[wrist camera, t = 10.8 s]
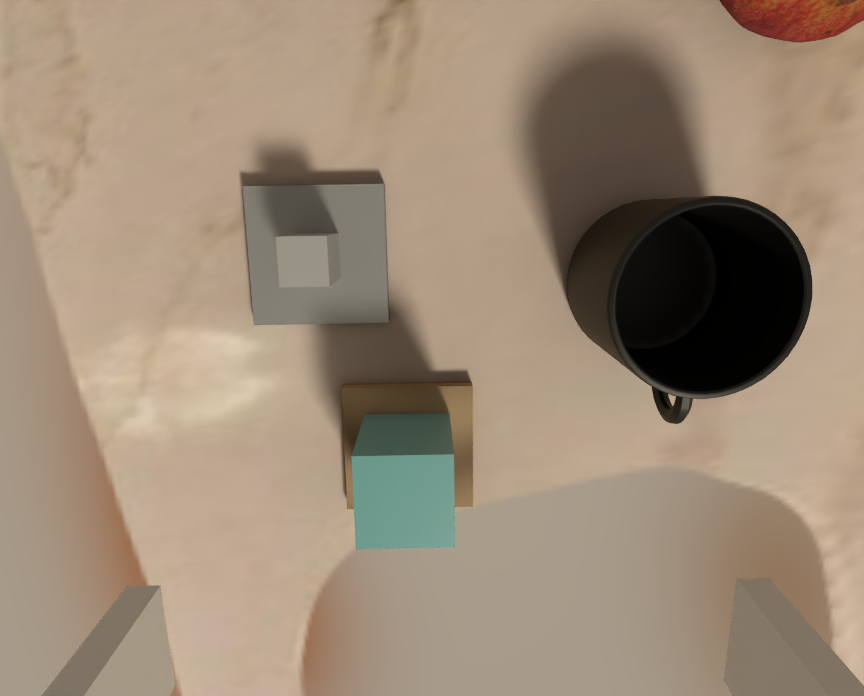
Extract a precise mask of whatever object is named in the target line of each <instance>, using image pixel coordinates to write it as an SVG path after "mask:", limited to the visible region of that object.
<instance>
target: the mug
mask: <svg viewBox="0 0 864 696" xmlns="http://www.w3.org/2000/svg"><path fill="white" fill-rule="evenodd" d="M567 292H568V299H569V304H570V308H571V311H572V313H573V315H574V318H575V320H576V321H577V323H578V325H579V326H580V328H581V329H582V331H583V332H584V333H585V334H586V335H587V336H588V337H589V338H590V339H591V340H592V341H593V342H595V343H596V344H597V345H598V346H600V347H601V348H602V349H603V350H605V351H606V352H607V353H608V354H610V355H611V356H612V357H613V358H615V359H616V360H617V361H619V362H620V363H621V364H622V365H624V366H625V367H626V368H627V369H629V370H630V371H631V372H633V373H634V374H635V375H636V376H638V377H639V378H640V379H641V380H643V381H644V382H645V383H647V384H649V385H650V386H652V391H653V397H654V400H655V403H656V406H657V408H658V411H659V413H660V415H661V416H662V418H663V419H664V420H665V421H666V422H669V423H674V424H679V423H681V422H682V421H683V420H684V419H685V418H686V416H687V415H688V413H689V411H690V409H691V406H692V400H693V399H708V398H716V397H722V396H726V395H729V394H733V393H736V392H739V391H741V390H743V389H746V388H748V387H750V386H752V385H754V384H755V383H757V382H759V381H760V380H762V379H764V378H765V377H766V376H767V375H769V374H770V373H771V372H772V371H774V370H775V369H776V368H777V367H778V366H779V365H780V364H781V363H782V362H783V361H784V360H785V359H786V357H787V356H788V355H789V354H790V352H791V351H792V349H793V348H794V346H795V345H796V343H797V342H798V340H799V338H800V336H801V334H802V332H803V330H804V328H805V325H806V322H807V319H808V316H809V312H810V307H811V301H812V276H811V270H810V265H809V262H808V258H807V255H806V253H805V250H804V248H803V246H802V244H801V243H800V241H799V239H798V237H797V236H796V235H795V233H794V232H793V231H792V229H791V228H790V227H789V226H788V225H787V224H786V223H785V222H784V221H783V220H782V219H781V218H780V217H778V216H777V215H776V214H775V213H773V212H771V211H770V210H768V209H767V208H765V207H763V206H761V205H759V204H756V203H754V202H751V201H749V200H745V199H740V198H735V197H728V196H705V197H687V198H669V199H651V200H642V201H636V202H632V203H628V204H625V205H622V206H620V207H618V208H616V209H614V210H612V211H610V212H608V213H607V214H605V215H604V216H602V217H601V218H600V219H599V220H598V221H596V222H595V223H594V224H593V225H592V226H591V227H590V228H589V229H588V231H587V232H586V233H585V234H584V236H583V237H582V238H581V240H580V242H579V243H578V245H577V247H576V249H575V251H574V254H573V256H572V259H571V262H570V266H569V270H568V278H567ZM668 394H671V395H673V396H676V400H675V403H674V405H673V406H672V404H671V402H670V400H669V397H668Z"/></svg>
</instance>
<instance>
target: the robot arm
mask: <svg viewBox="0 0 864 696" xmlns="http://www.w3.org/2000/svg"><path fill="white" fill-rule="evenodd" d="M724 681H725V683H726V685H727V686H728V688H729V690H730V691H731V693H732V694H733V696H864V686H863V685H862V683H861V682H860V681H859V680H858V679H857V678H856V677H855V675H854V674H853V673H852V672H851V671H850V670H849V669H848V667H847V666H846V665H845V664H844V663H843V662H842V660H841V659H840V658H839V657H838V656H837V655H836V654H835V652H834V651H833V650H832V649H831V648H830V647H829V646H828V644H827V643H826V642H825V641H824V640H823V639H822V638H821V636H820V635H819V634H818V633H817V632H816V631H815V629H814V628H813V627H812V626H811V625H810V624H809V623H808V621H807V620H806V619H805V618H804V617H803V616H802V615H801V613H800V612H799V611H798V610H797V609H796V608H795V607H794V605H793V604H792V603H791V602H790V601H789V600H788V598H787V597H786V596H785V595H784V594H783V593H782V592H781V590H780V589H779V588H778V587H777V586H776V585H775V584H774V582H773V581H772V580H771V579H770V578H764V579H763V578H759V579H757V578H755V579H736V584H735V593H734V601H733V609H732V618H731V626H730V634H729V643H728V650H727V659H726V667H725V675H724ZM174 687H175V684H174V677H173V670H172V663H171V656H170V649H169V642H168V635H167V628H166V621H165V614H164V607H163V600H162V592H161V586H127V587H126V588H125V589H124V591H123V592H122V593H121V595H120V596H119V597H118V598H117V600H116V601H115V602H114V603H113V605H112V606H111V608H110V609H109V610H108V611H107V613H106V614H105V615H104V616H103V618H102V619H101V620H100V621H99V623H98V624H97V625H96V627H95V628H94V629H93V630H92V632H91V633H90V634H89V636H88V637H87V638H86V639H85V641H84V642H83V643H82V645H81V646H80V647H79V649H78V650H77V651H76V652H75V654H74V655H73V656H72V658H71V659H70V660H69V661H68V663H67V664H66V665H65V667H64V668H63V669H62V670H61V672H60V673H59V674H58V676H57V677H56V678H55V680H54V681H53V682H52V683H51V685H50V686H49V687H48V688H47V690H46V691H45V692H44V694H43V695H42V696H170V694H171V692H172V690H173V688H174Z"/></svg>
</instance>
